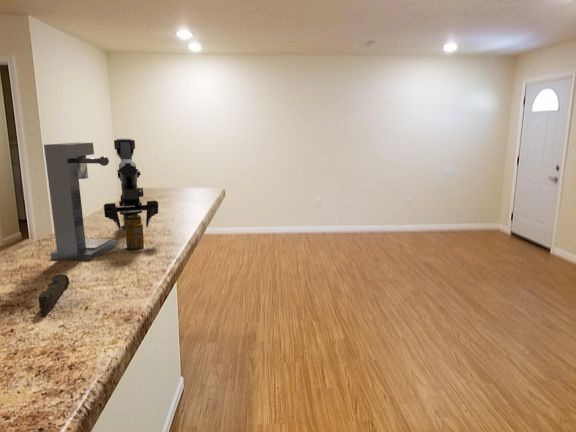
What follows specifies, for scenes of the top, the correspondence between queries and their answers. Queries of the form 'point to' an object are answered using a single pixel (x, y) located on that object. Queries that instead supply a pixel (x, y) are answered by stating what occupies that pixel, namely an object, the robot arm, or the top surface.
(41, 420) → the top surface
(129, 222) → the condiment
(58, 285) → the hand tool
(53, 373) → the top surface
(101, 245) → the coffee machine
